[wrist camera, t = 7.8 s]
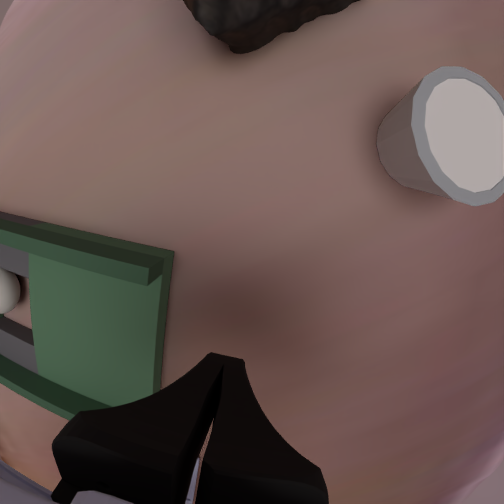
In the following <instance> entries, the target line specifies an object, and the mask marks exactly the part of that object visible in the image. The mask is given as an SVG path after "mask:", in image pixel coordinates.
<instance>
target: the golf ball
mask: <svg viewBox="0 0 504 504" xmlns="http://www.w3.org/2000/svg"><path fill="white" fill-rule="evenodd" d="M19 298H20V284H19V281H18V279H17V277H16V275H15V274H14V273H13V272H11V271H8V270H6V269H3V268H1V267H0V314H4V313H7V312H9V311H11V310H12V309H13V308H14V307H15V306H16V305H17V303H18V301H19Z"/></svg>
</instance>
